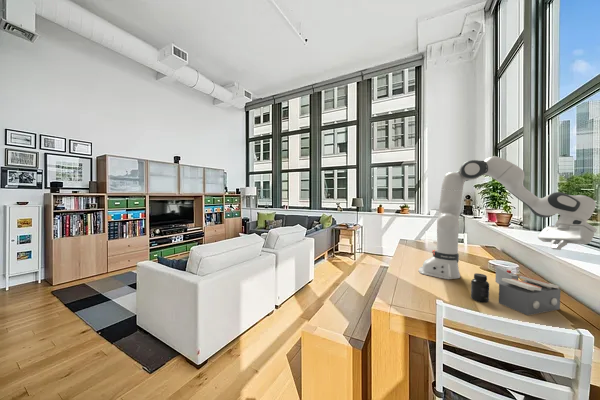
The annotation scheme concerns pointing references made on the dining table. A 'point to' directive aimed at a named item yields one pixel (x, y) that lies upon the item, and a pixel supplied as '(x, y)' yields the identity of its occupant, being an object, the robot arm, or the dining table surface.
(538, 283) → the right rocker
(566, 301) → the dining table surface
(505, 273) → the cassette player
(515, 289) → the switch console
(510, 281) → the left rocker
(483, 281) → the supplement bottle
